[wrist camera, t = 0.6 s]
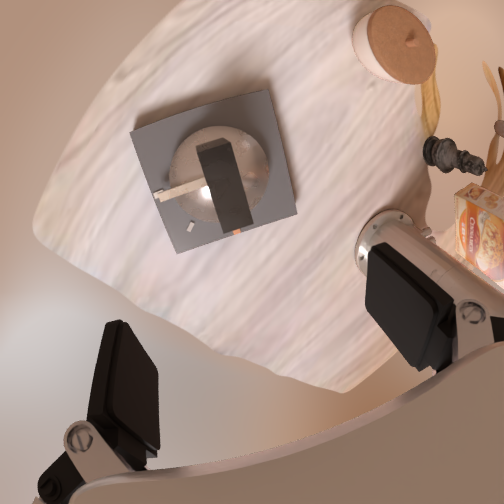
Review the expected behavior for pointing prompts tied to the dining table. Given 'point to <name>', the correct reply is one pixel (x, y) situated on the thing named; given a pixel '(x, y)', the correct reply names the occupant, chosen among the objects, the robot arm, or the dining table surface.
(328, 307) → the dining table surface
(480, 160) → the dark grey chess piece
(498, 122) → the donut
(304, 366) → the dining table surface
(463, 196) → the coffeecake box
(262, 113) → the dial plate
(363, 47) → the lidded jar
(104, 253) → the dining table surface
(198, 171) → the dial
